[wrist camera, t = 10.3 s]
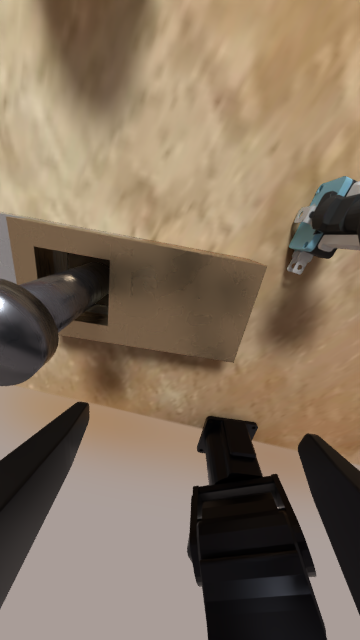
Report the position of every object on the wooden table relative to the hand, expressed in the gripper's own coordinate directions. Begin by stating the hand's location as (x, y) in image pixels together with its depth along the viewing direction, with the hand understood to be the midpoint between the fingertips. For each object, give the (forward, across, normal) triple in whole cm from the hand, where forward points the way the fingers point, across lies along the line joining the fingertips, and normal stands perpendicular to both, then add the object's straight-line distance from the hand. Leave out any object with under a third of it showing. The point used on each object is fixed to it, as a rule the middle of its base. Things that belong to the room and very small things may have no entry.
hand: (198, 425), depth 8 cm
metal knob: (+12, +9, -2) cm, 15 cm away
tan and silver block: (+12, +9, -2) cm, 15 cm away
